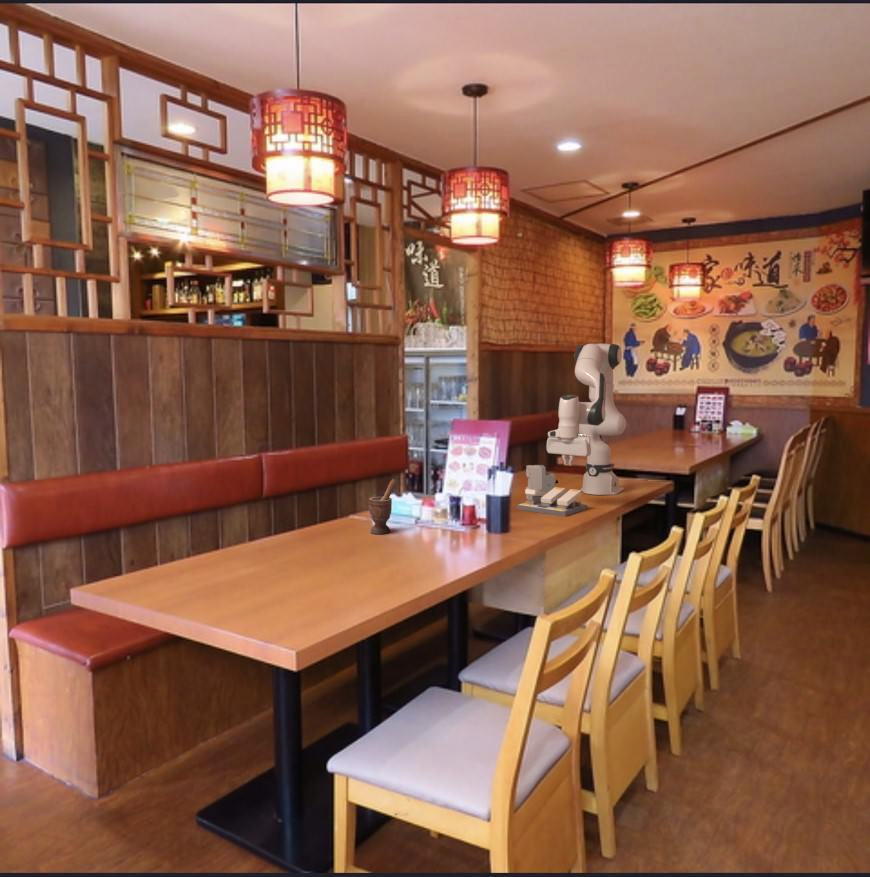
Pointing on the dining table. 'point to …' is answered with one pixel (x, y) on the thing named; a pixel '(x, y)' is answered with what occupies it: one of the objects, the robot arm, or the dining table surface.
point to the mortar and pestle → (382, 509)
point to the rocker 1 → (535, 492)
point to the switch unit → (551, 507)
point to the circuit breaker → (539, 479)
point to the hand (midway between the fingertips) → (568, 465)
